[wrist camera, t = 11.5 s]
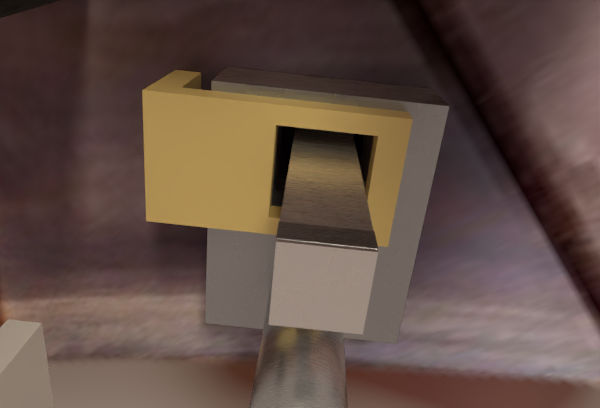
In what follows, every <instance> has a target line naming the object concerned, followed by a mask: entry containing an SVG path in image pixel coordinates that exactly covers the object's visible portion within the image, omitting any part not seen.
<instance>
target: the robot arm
mask: <svg viewBox="0 0 600 408" xmlns="http://www.w3.org/2000/svg"><path fill="white" fill-rule="evenodd" d="M0 408H54V402H53V397H52V389H51V382H50V376H49V369H48V362H47V355H46V348H45V341H44V335H43V328H42V323H37V322H28V321H18V320H9V319H8V320H7V321H6V322H5V323H4V324H3V325H2V326H1V327H0Z"/></svg>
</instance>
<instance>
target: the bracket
mask: <svg viewBox="0 0 600 408" xmlns="http://www.w3.org/2000/svg"><path fill="white" fill-rule="evenodd" d="M142 98H143V131H144V164H145V197H146V221H150V222H159V223H168V224H178V225H187V226H196V227H206V228H215V229H224V230H234V231H243V232H252V233H262V234H271V235H277V229H278V223H279V221H280V215H281V210H282V207H279V206H271V202H272V190H273V177H274V165H275V153H276V141H277V129H278V125H280V126H289V127H298V128H308V129H317V130H326V131H335V132H345V133H354V134H363V135H372V136H374V139H373V145H372V151H371V157H370V163H369V169H368V175H367V181H366V187H365V193H366V197H367V202H368V207H369V211H370V216H371V221H372V226H373V230H374V231H375V236H376V240H377V245H378V246H383V247H388V244H389V239H390V234H391V229H392V223H393V218H394V213H395V208H396V203H397V198H398V193H399V188H400V182H401V177H402V172H403V167H404V162H405V157H406V152H407V147H408V142H409V136H410V131H411V126H412V121H413V119H412V117H411V116H410V114H409V113H408V112H404V111H395V110H386V109H377V108H367V107H358V106H349V105H340V104H330V103H321V102H312V101H303V100H293V99H284V98H275V97H266V96H256V95H247V94H238V93H229V92H219V91H210V90H201V72H192V71H182V70H175V71H173V72H171V73H170V74H168V75H166V76H165V77H163V78H161V79H160V80H158V81H157V82H155V83H153V84H152V85H150V86H148V87H147V88H145V89H143V90H142Z"/></svg>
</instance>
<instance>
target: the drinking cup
mask: <svg viewBox="0 0 600 408" xmlns="http://www.w3.org/2000/svg"><path fill="white" fill-rule="evenodd" d="M56 1H59V0H0V18H1V17H5V16H8V15H12V14H15V13H18V12H22V11H25V10H29V9H32V8H35V7H39V6H42V5H46V4H49V3H53V2H56Z"/></svg>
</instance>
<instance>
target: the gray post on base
mask: <svg viewBox="0 0 600 408" xmlns="http://www.w3.org/2000/svg"><path fill="white" fill-rule="evenodd" d="M211 91H219V92H229V93H238V94H247V95H256V96H266V97H275V98H284V99H293V100H303V101H312V102H321V103H330V104H340V105H349V106H358V107H367V108H377V109H386V110H395V111H404V112H408V113H409V114H410V116H411V117H412V119H413V121H412V126H411V131H410V136H409V142H408V147H407V152H406V157H405V162H404V167H403V172H402V177H401V182H400V188H399V193H398V198H397V203H396V208H395V213H394V218H393V223H392V229H391V234H390V239H389V244H388V247H383V246H378V256H377V261H376V267H375V272H374V277H373V283H372V288H371V294H370V299H369V304H368V310H367V315H366V320H365V326H364V331H363V335H362V334H353V333H343V332H333V331H324V330H314V329H305V328H295V327H285V326H276V325H269V310H270V299H271V288H272V277H273V266H274V255H275V243H276V235H271V234H262V233H252V232H243V231H234V230H224V229H215V228H208V231H207V269H206V307H205V323H208V324H217V325H227V326H236V327H246V328H255V329H263V332H262V338H261V344H260V350H259V355H258V361H257V367H256V373H255V379H254V385H253V391H252V396H251V402H250V408H348V403H347V387H346V386H347V385H346V368H345V351H344V338H349V339H358V340H367V341H377V342H386V343H395V344H396V343H397V339H398V334H399V330H400V325H401V321H402V316H403V312H404V307H405V303H406V298H407V294H408V289H409V285H410V280H411V276H412V271H413V267H414V263H415V258H416V254H417V249H418V245H419V240H420V236H421V231H422V227H423V222H424V218H425V213H426V209H427V204H428V200H429V196H430V191H431V187H432V182H433V178H434V173H435V169H436V164H437V160H438V155H439V151H440V146H441V142H442V137H443V133H444V128H445V124H446V120H447V115H448V111H449V105H448V104H447V103H446V102H445V101H443V100H442V99H441V98H440V97H439V96H438V95H437V94H436V93H435V92H434V91H433V90H432V89H429V88H420V87H411V86H402V85H392V84H383V83H374V82H365V81H355V80H346V79H337V78H328V77H318V76H309V75H300V74H291V73H281V72H272V71H263V70H254V69H245V68H235V67H226V68H225V69H224V70H223V71H222V72H220V73H219V74H218V75H217V76H216V77H215V78H214V79H213V80H212V81H211ZM281 134H282V126H280V125H278V129H277V141H276V153H275V165H274V177H273V190H272V202H271V206H279V207H282V204H283V198H284V192H285V186H286V180H287V178H285V177H278V169H279V157H280V145H281ZM373 139H374V136H372V135H364V137H363V143H362V149H361V156H360V162H359V165H360V169H361V174H362V179H363V183H364V188H365V187H366V181H367V175H368V169H369V163H370V157H371V151H372V145H373Z"/></svg>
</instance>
